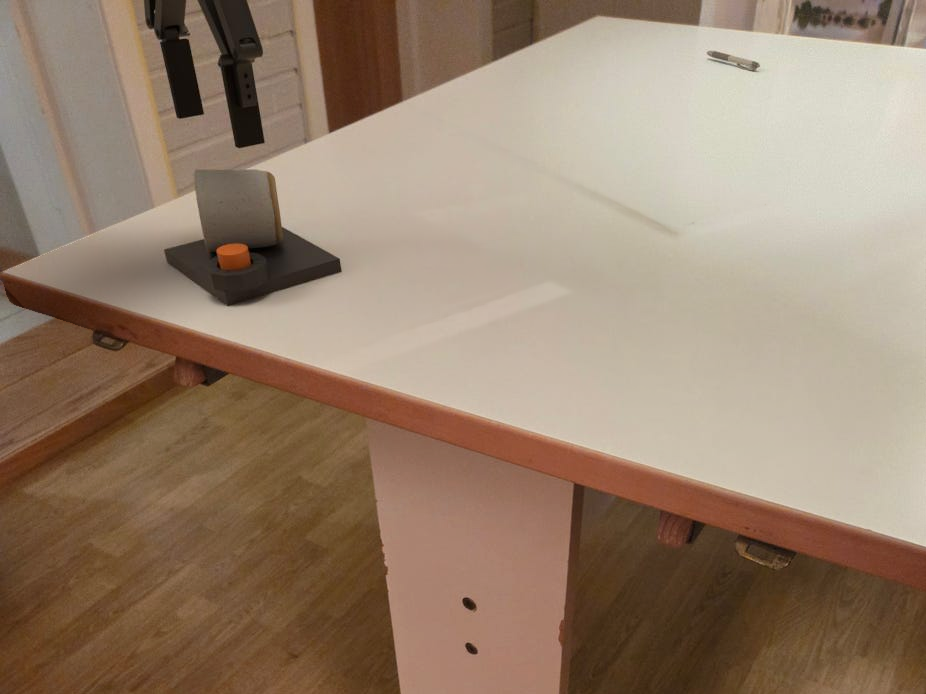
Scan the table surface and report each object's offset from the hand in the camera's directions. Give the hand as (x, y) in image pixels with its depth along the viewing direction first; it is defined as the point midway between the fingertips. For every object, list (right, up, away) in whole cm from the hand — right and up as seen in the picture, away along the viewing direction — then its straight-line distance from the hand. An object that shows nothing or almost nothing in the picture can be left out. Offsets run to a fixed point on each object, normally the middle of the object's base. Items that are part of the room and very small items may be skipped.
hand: (219, 130), depth 86 cm
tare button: (+2, -14, 0) cm, 14 cm away
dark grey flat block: (+2, -11, +6) cm, 13 cm away
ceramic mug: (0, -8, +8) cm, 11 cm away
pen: (+71, +51, +68) cm, 111 cm away
